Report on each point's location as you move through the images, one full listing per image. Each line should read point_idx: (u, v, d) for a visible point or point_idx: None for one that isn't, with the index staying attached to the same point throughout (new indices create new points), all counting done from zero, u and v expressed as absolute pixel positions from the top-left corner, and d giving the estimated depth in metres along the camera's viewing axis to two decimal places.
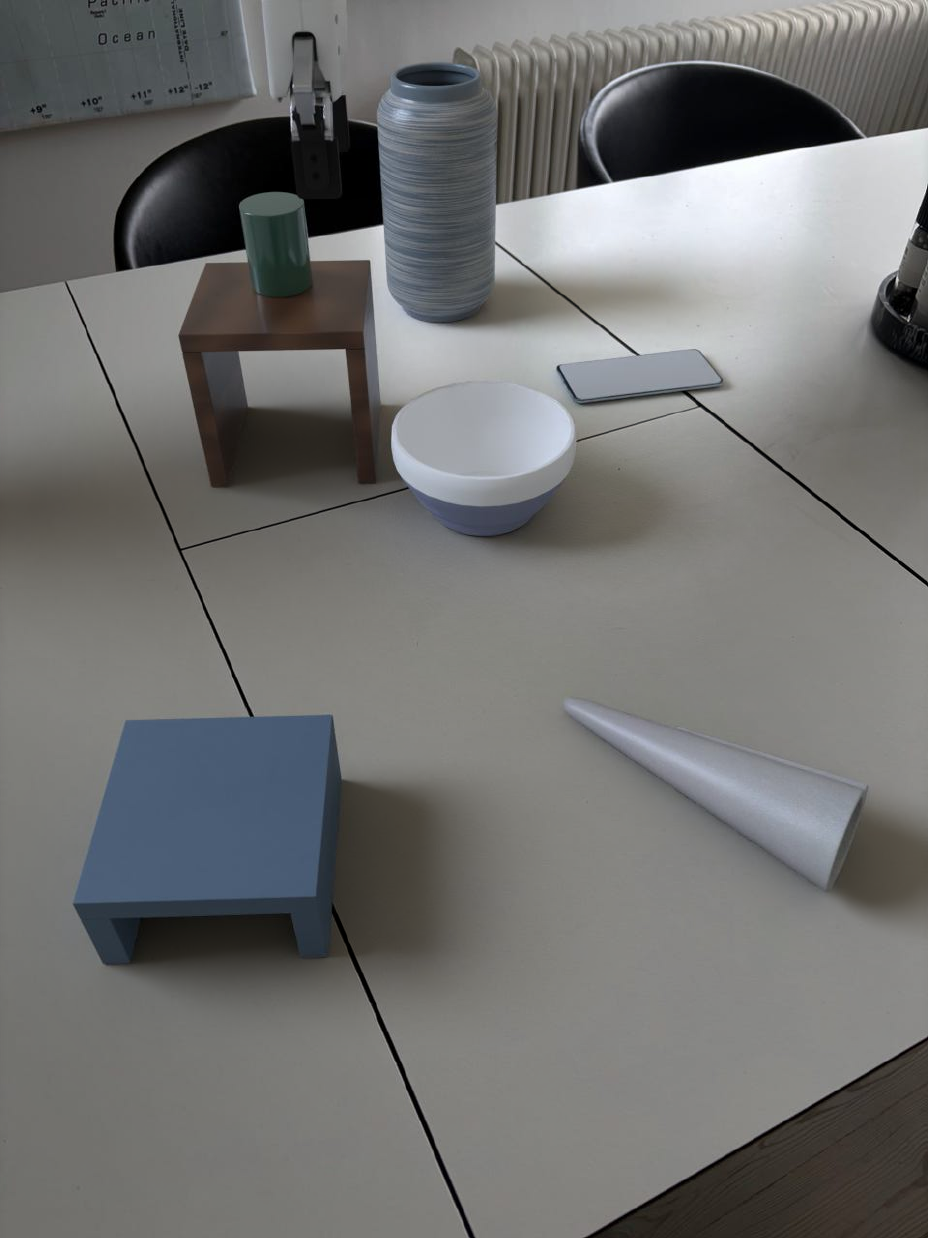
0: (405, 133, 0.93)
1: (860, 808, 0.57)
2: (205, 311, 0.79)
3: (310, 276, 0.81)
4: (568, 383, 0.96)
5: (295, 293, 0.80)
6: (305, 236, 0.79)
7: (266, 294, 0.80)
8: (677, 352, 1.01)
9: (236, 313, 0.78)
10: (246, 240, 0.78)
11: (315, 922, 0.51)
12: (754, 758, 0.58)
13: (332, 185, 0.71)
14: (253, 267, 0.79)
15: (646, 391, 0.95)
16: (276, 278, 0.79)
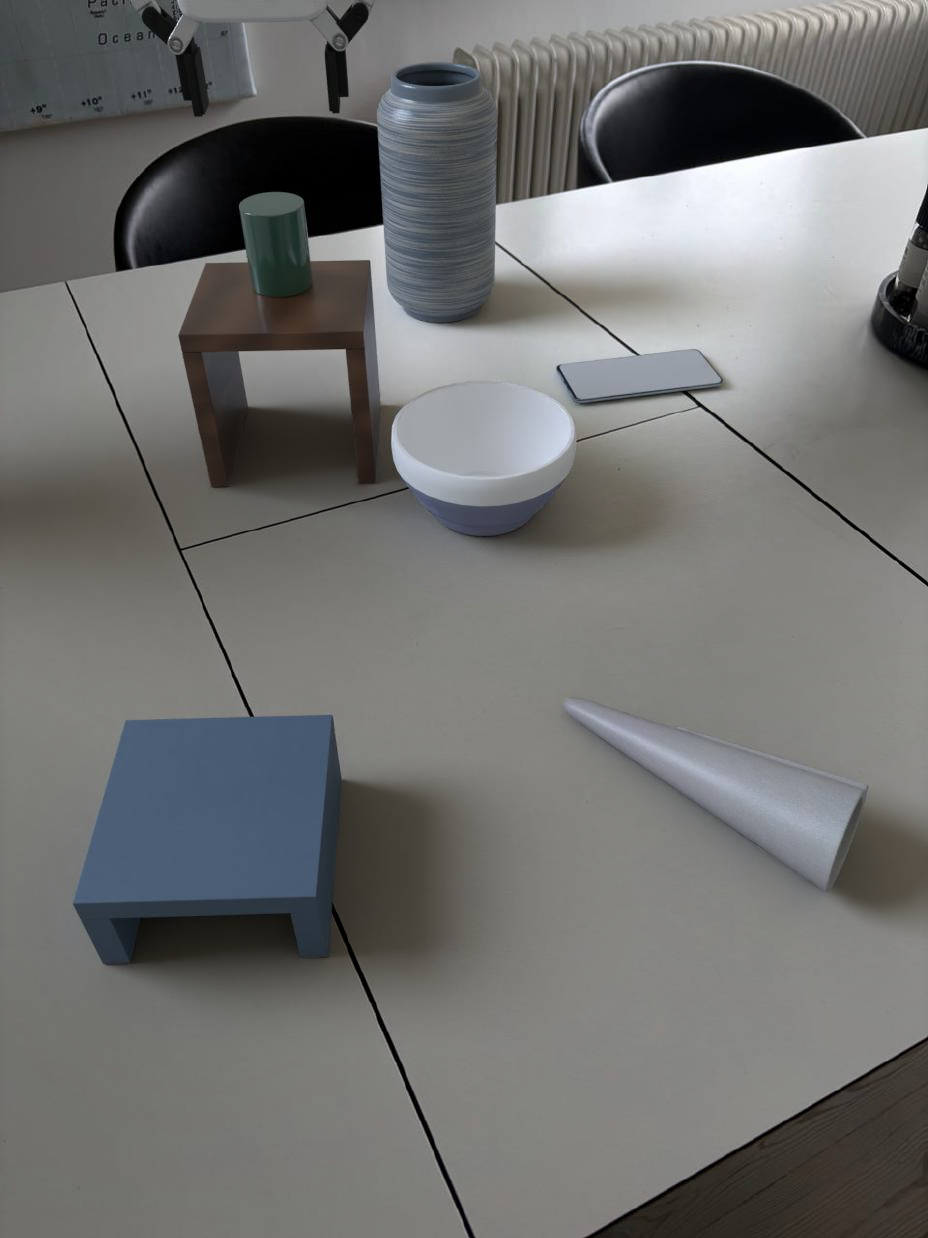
0: (405, 133, 0.93)
1: (860, 808, 0.57)
2: (205, 311, 0.79)
3: (310, 276, 0.81)
4: (568, 383, 0.96)
5: (295, 293, 0.80)
6: (305, 236, 0.79)
7: (266, 294, 0.80)
8: (677, 352, 1.01)
9: (236, 313, 0.78)
10: (246, 240, 0.78)
11: (315, 922, 0.51)
12: (754, 758, 0.58)
13: None
14: (253, 267, 0.79)
15: (646, 391, 0.95)
16: (276, 278, 0.79)
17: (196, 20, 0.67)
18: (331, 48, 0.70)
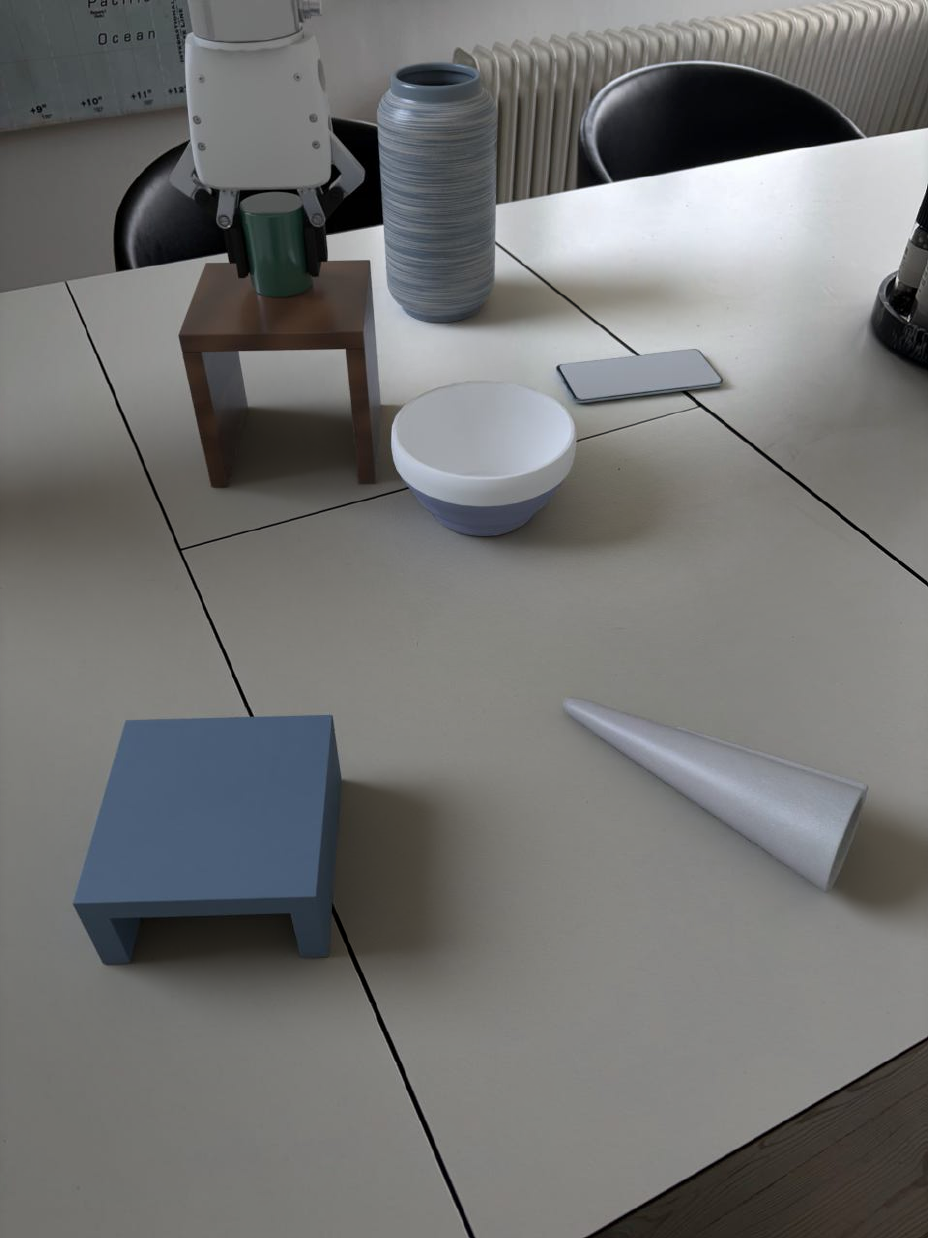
0: (405, 133, 0.93)
1: (860, 808, 0.57)
2: (205, 311, 0.79)
3: (310, 276, 0.81)
4: (568, 383, 0.96)
5: (295, 293, 0.80)
6: None
7: (266, 294, 0.80)
8: (677, 352, 1.01)
9: (236, 313, 0.78)
10: (246, 240, 0.78)
11: (315, 922, 0.51)
12: (754, 758, 0.58)
13: None
14: (253, 267, 0.79)
15: (646, 391, 0.95)
16: (276, 278, 0.79)
17: (213, 188, 0.75)
18: (310, 223, 0.78)
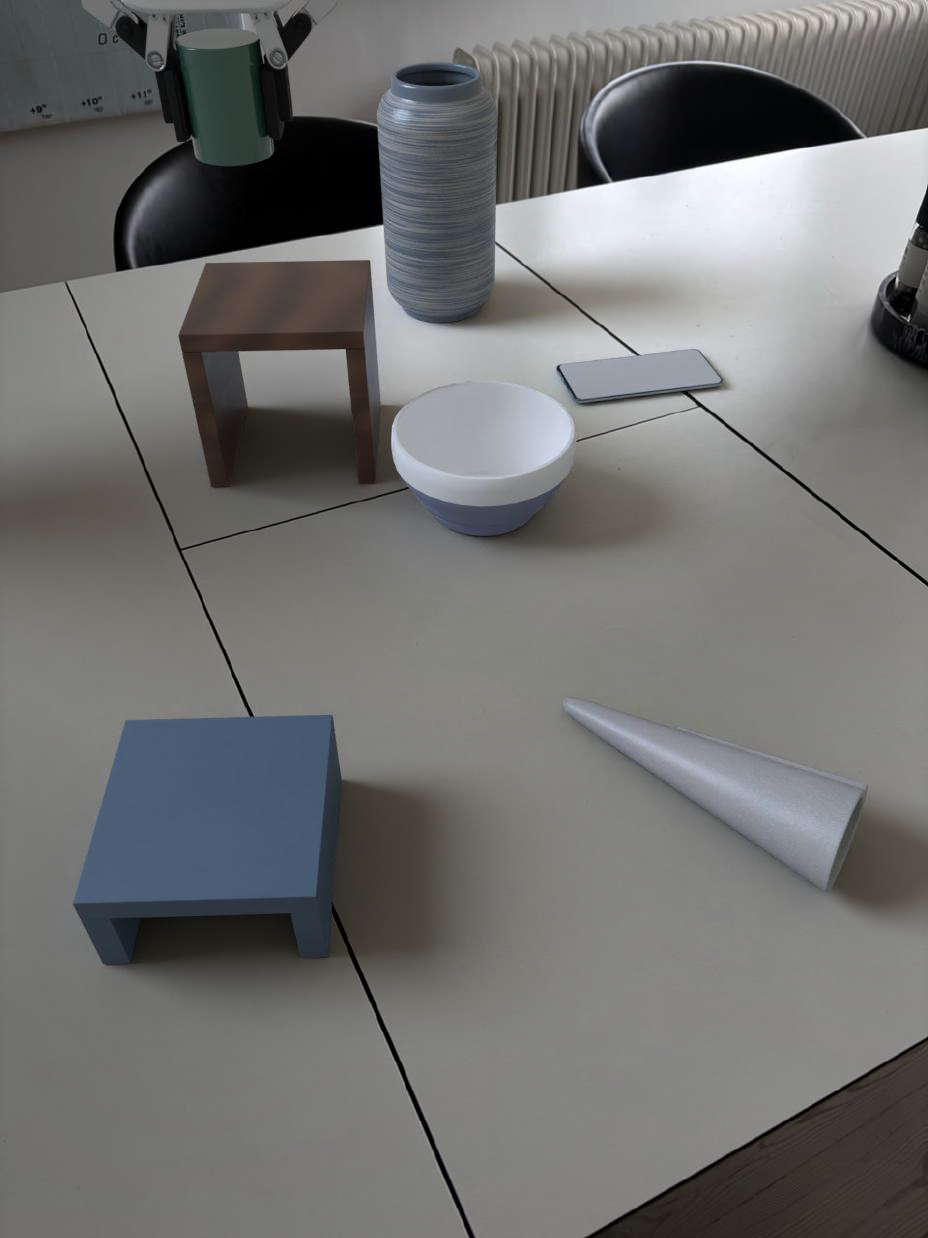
0: (405, 133, 0.93)
1: (860, 808, 0.57)
2: (205, 311, 0.79)
3: (270, 141, 0.63)
4: (568, 383, 0.96)
5: (251, 161, 0.62)
6: None
7: (213, 162, 0.62)
8: (677, 352, 1.01)
9: (236, 313, 0.78)
10: (185, 88, 0.60)
11: (315, 922, 0.51)
12: (754, 758, 0.58)
13: None
14: (196, 125, 0.61)
15: (646, 391, 0.95)
16: (226, 139, 0.61)
17: (139, 11, 0.57)
18: (269, 65, 0.60)
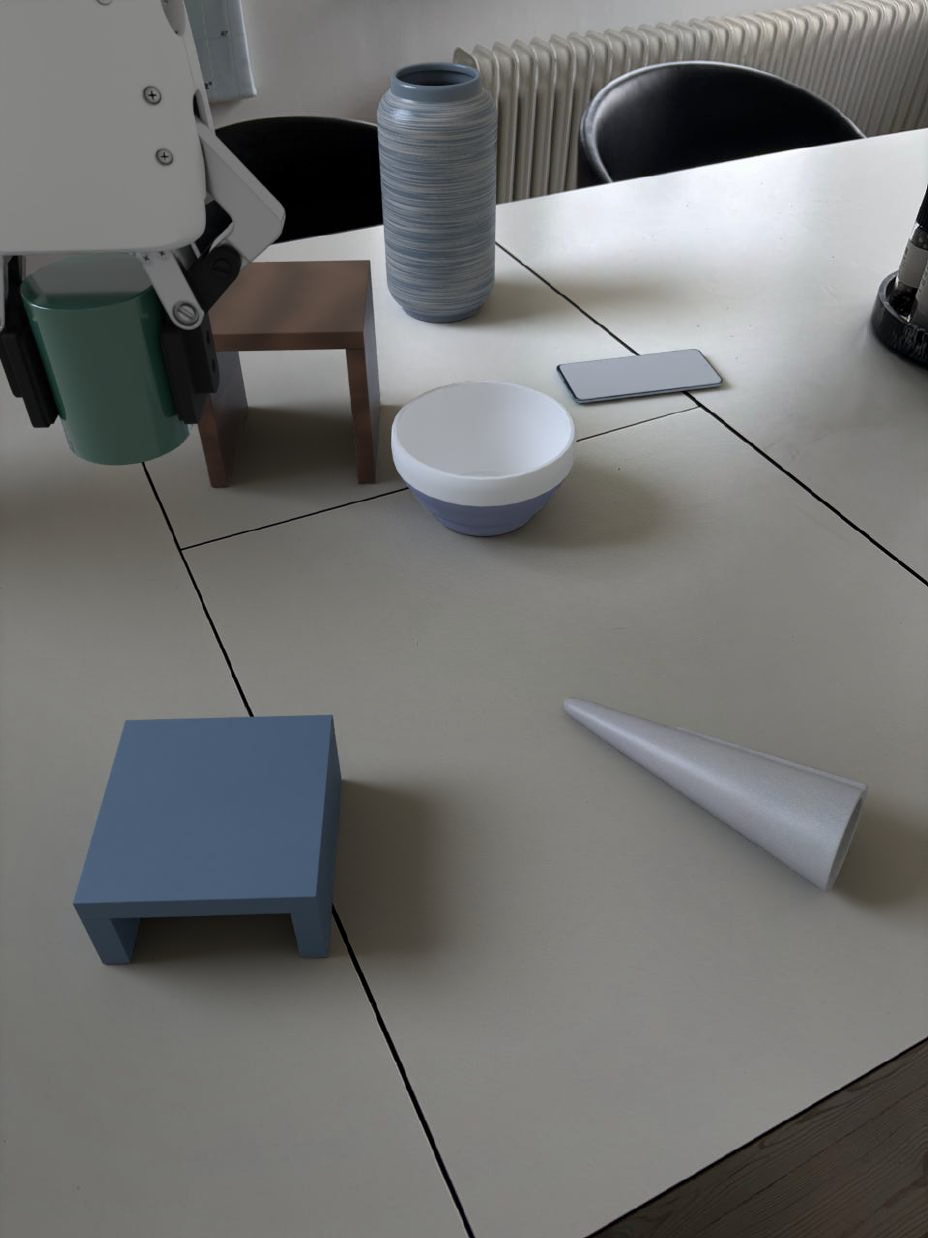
0: (405, 133, 0.93)
1: (860, 808, 0.57)
2: None
3: None
4: (568, 383, 0.96)
5: (151, 457, 0.40)
6: None
7: (92, 460, 0.39)
8: (677, 352, 1.01)
9: (236, 313, 0.78)
10: (40, 356, 0.37)
11: (315, 922, 0.51)
12: (754, 758, 0.58)
13: None
14: (61, 408, 0.38)
15: (646, 391, 0.95)
16: (108, 431, 0.38)
17: None
18: None
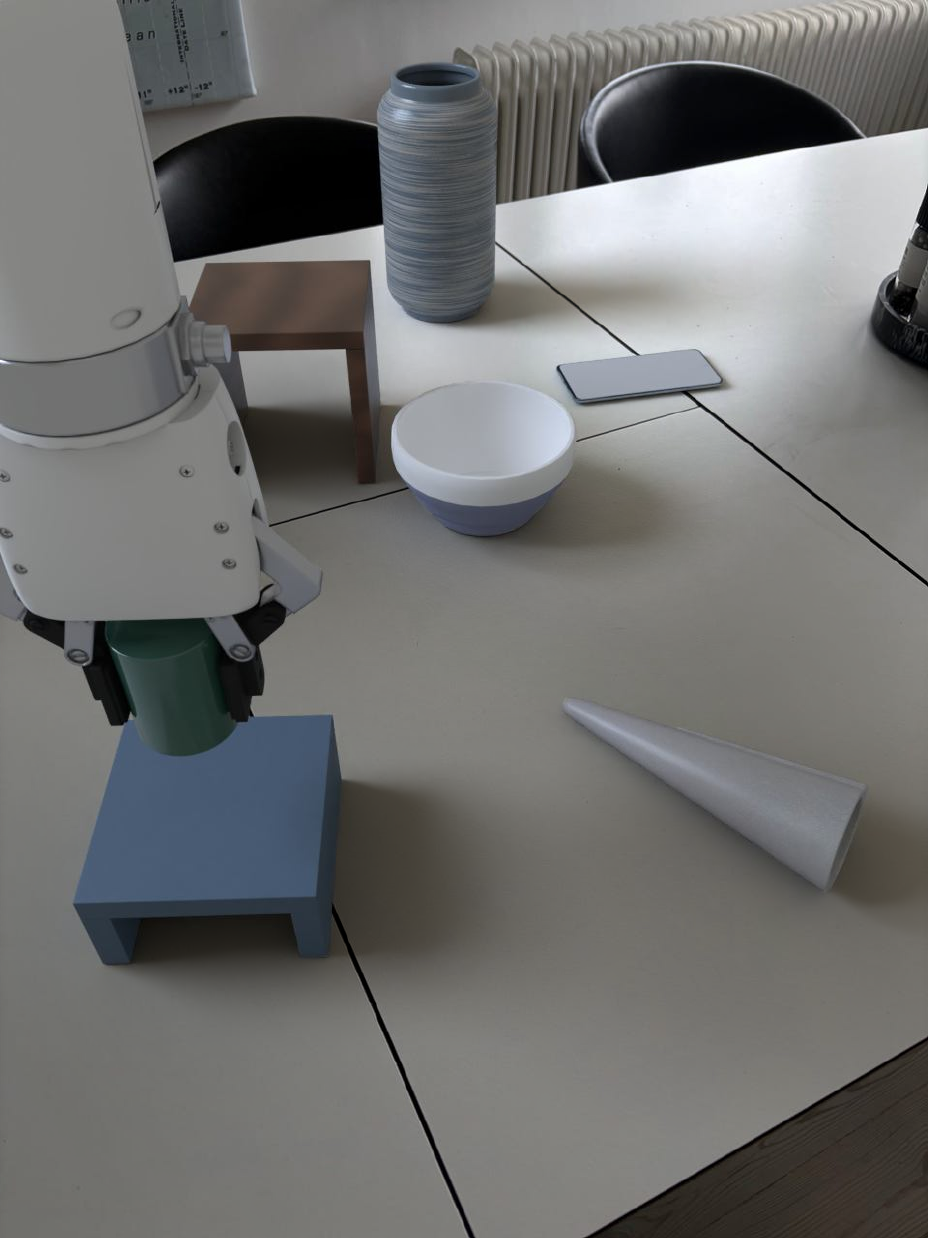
0: (405, 133, 0.93)
1: (859, 808, 0.57)
2: (205, 311, 0.79)
3: None
4: (568, 383, 0.96)
5: (208, 748, 0.48)
6: None
7: (159, 752, 0.47)
8: (677, 352, 1.01)
9: (236, 313, 0.78)
10: (120, 679, 0.45)
11: (315, 922, 0.51)
12: (754, 758, 0.58)
13: None
14: (135, 715, 0.46)
15: (646, 391, 0.95)
16: (174, 735, 0.46)
17: None
18: None
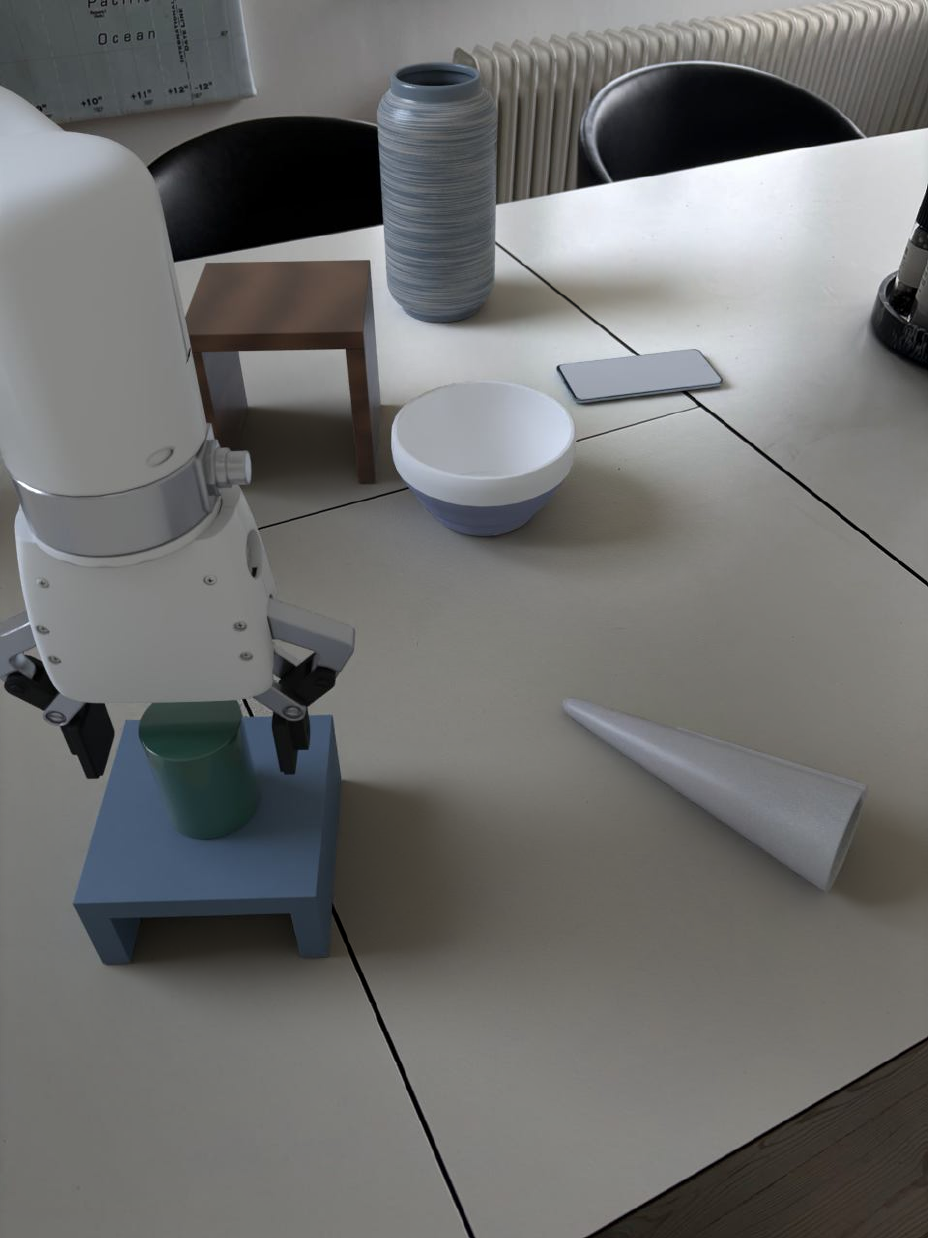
0: (405, 133, 0.93)
1: (859, 808, 0.57)
2: (205, 311, 0.79)
3: (255, 798, 0.53)
4: (568, 383, 0.96)
5: (231, 832, 0.52)
6: (244, 760, 0.51)
7: (186, 835, 0.52)
8: (677, 352, 1.01)
9: (236, 313, 0.78)
10: (151, 772, 0.50)
11: (315, 922, 0.51)
12: (754, 758, 0.58)
13: None
14: (165, 803, 0.51)
15: (646, 391, 0.95)
16: (200, 822, 0.51)
17: None
18: None
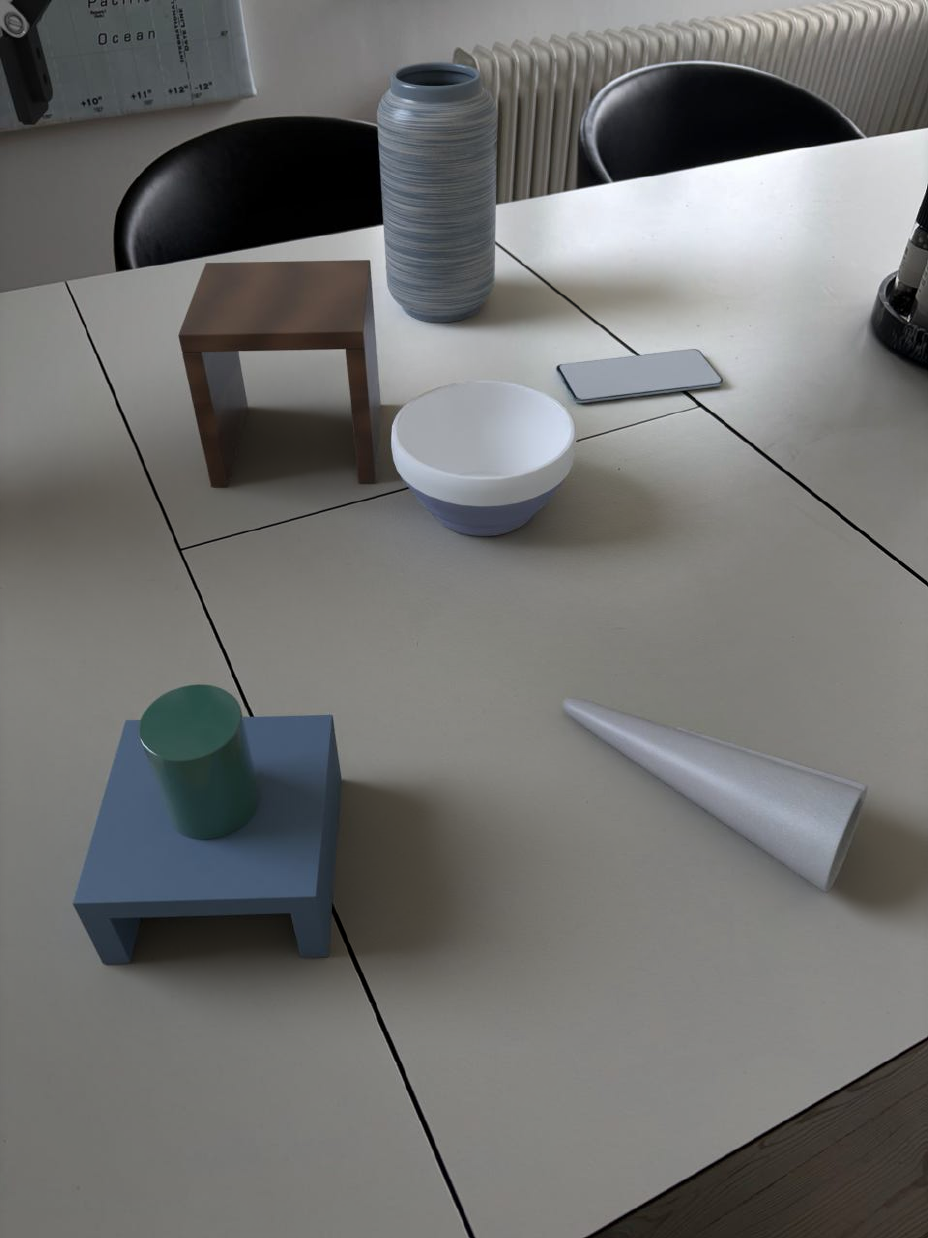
0: (405, 133, 0.93)
1: (859, 809, 0.57)
2: (205, 311, 0.79)
3: (255, 798, 0.53)
4: (568, 383, 0.96)
5: (231, 832, 0.52)
6: (244, 760, 0.51)
7: (186, 835, 0.52)
8: (677, 352, 1.01)
9: (236, 313, 0.78)
10: (151, 772, 0.50)
11: (315, 922, 0.51)
12: (754, 758, 0.58)
13: None
14: (165, 803, 0.51)
15: (646, 391, 0.95)
16: (200, 822, 0.51)
17: None
18: (8, 33, 0.49)
